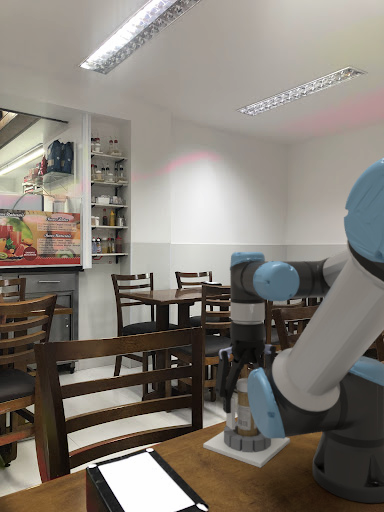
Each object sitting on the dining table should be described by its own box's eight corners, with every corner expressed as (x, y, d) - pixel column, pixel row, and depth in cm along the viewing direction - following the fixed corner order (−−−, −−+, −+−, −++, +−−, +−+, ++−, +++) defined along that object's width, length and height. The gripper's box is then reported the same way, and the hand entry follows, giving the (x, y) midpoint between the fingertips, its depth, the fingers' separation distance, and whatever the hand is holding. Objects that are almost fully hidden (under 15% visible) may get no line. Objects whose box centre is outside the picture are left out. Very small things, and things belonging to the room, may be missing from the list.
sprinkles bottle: (261, 442, 90) (261, 381, 90) (246, 447, 88) (246, 385, 88) (248, 434, 94) (248, 376, 94) (232, 439, 92) (232, 379, 91)
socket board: (290, 442, 92) (290, 427, 92) (260, 467, 81) (260, 451, 81) (236, 426, 101) (236, 413, 101) (203, 447, 90) (203, 432, 90)
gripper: (276, 316, 98) (276, 411, 98) (198, 321, 90) (198, 424, 90) (296, 320, 91) (295, 423, 91) (212, 327, 83) (212, 438, 83)
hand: (247, 423), depth 91 cm, fingers open, 8 cm apart
